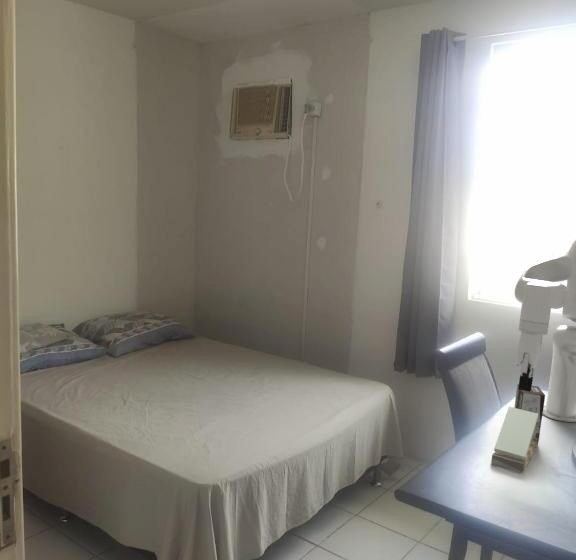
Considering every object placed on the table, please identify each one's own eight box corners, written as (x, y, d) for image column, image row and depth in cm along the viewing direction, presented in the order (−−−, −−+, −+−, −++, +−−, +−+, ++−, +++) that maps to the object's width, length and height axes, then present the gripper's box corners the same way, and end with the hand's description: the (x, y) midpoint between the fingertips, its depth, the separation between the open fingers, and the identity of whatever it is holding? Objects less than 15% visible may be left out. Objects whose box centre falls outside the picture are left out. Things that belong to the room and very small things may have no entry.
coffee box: (538, 447, 168) (546, 395, 165) (516, 444, 169) (522, 392, 167) (532, 435, 177) (538, 385, 174) (510, 432, 178) (516, 383, 175)
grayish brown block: (505, 443, 169) (506, 433, 169) (534, 451, 165) (535, 441, 164) (490, 465, 154) (492, 454, 153) (521, 474, 150) (523, 463, 149)
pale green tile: (508, 410, 166) (508, 406, 165) (538, 417, 162) (538, 413, 161) (494, 451, 156) (494, 448, 155) (525, 460, 151) (525, 457, 150)
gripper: (524, 321, 166) (516, 381, 169) (513, 328, 154) (505, 392, 156) (551, 325, 162) (543, 387, 165) (543, 333, 150) (534, 399, 152)
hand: (524, 389), depth 160 cm, fingers closed
